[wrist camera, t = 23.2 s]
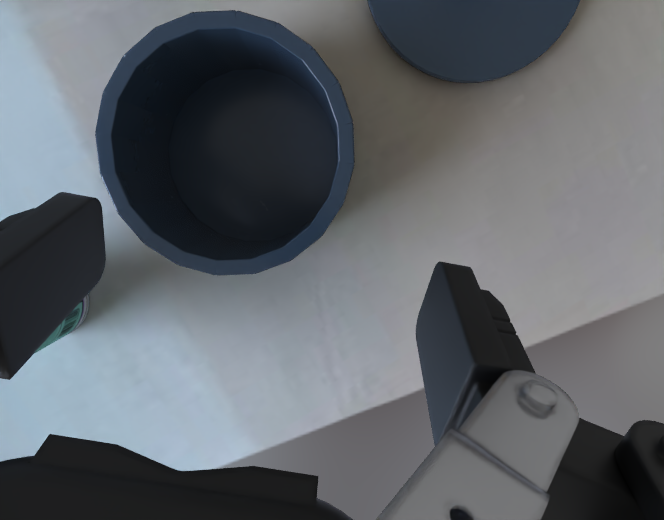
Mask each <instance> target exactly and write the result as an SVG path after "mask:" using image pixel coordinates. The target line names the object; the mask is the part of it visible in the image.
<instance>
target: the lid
mask: <svg viewBox="0 0 664 520" xmlns="http://www.w3.org/2000/svg"><path fill="white" fill-rule="evenodd" d="M367 1H368V4H369V8H370V11H371V13H372V16H373V18H374V21H375V23H376V25H377V26H378V28H379V30H380V32H381V33H382V35H383V37H384V38H385V39H386V41H387V42H388V43H389V45H390V46H391V47H392V48H393V49H394V50H395V51H396V52H397V53H398V54H399V55H400V56H401V57H402V58H403V59H404V60H406V61H407V62H408V63H409V64H411V65H412V66H414V67H415V68H417V69H419V70H421V71H422V72H424V73H426V74H429V75H431V76H434V77H436V78H439V79H443V80H447V81H452V82H461V83H477V82H484V81H490V80H494V79H498V78H501V77H504V76H507V75H509V74H511V73H514V72H516V71H518V70H520V69H521V68H523V67H525V66H526V65H528V64H530V63H531V62H533V61H534V60H536V59H537V58H538V57H539V56H541V55H542V54H543V53H544V52H545V51H547V50H548V49H549V48H550V47H551V45H552V44H553V43H554V42H555V41H556V40H557V39H558V38H559V36H560V35H561V34H562V32H563V31H564V30H565V29H566V27H567V25H568V24H569V22H570V20H571V19H572V17H573V15H574V13H575V11H576V9H577V6H578V4H579V2H580V0H367Z"/></svg>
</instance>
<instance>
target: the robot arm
mask: <svg viewBox="0 0 664 520" xmlns="http://www.w3.org/2000/svg"><path fill="white" fill-rule="evenodd" d="M105 262H106V254H105V241H104V228H103V215H102V207H101V204H100V202H99V200H98V199H96V198H92V197H87V196H81V195H76V194H71V193H65V192H61V193H58V194H57V195H55V196H54V197H52V198H51V199H49V200H47V201H46V202H44V203H43V204H41V205H40V206H38V207H37V208H33V209H30V210H27V211H24V212H21V213H17V214H14V215H11V216H9V217H7V218H6V219H4V220H2V221H1V222H0V378H2V379H8V380H10V379H11V378H12V377H13V376H14V375H15V374H16V372H17V371H18V370H19V369H20V368H21V367H22V366H23V365H24V364H25V363H26V361H27V360H28V359H29V358H30V357H31V356H32V355H33V354H34V353H35V352H36V350H37V349H38V348H39V347H40V346H41V345H42V344H43V343H44V342H45V341H46V339H47V338H48V337H49V336H50V335H51V334H52V333H53V332H54V331H55V329H56V328H57V327H58V326H59V325H60V324H61V323H62V322H63V321H64V320H65V318H66V317H67V316H68V315H69V314H70V313H71V312H72V311H73V310H74V309H75V307H76V306H77V305H78V304H79V303H80V302H81V301H82V300H83V299H84V298H85V296H86V295H87V294H88V293H89V292H90V291H91V290H92V289H93V288H94V287H95V285H96V284H97V283H98V282H99V280H100V279H101V277H102V274H103V272H104V268H105ZM416 341H417V347H418V352H419V358H420V364H421V370H422V375H423V381H424V387H425V393H426V398H427V404H428V410H429V415H430V421H431V427H432V433H433V438H434V444H435V447H434V449H433V450H432V451H431V452H430V454H429V455H428V456H427V457H426V459H425V460H424V461H423V462H422V464H421V465H420V466H419V467H418V468H417V470H416V471H415V472H414V473H413V475H412V476H411V477H410V478H409V479H408V481H407V482H406V483H405V485H404V486H403V487H402V488H401V489H400V490H399V492H398V493H397V494H396V495H395V497H394V498H393V499H392V500H391V502H390V503H389V504H388V505H387V506H386V508H385V509H384V510H383V511H382V513H381V514H380V515H379V516H378V517H377V519H376V520H664V424H663V423H659V422H656V421H648V420H643V421H638V422H636V423H634V424H633V425H632V427H631V428H630V429H629V431H628V432H627V433H626V435H625V436H622V435H620V434H617V433H615V432H612V431H610V430H607V429H605V428H602V427H600V426H597V425H595V424H593V423H590V422H588V421H585V420H583V419H581V418H579V413H578V410H577V407H576V405H575V404H574V402H573V401H572V399H571V398H570V397H569V396H568V394H566V392H564V391H563V390H562V389H561V388H560V387H559V386H557V385H556V384H554V383H553V382H551V381H550V380H548V379H546V378H544V377H542V376H540V375H537V374H536V373H535V371H534V369H533V367H532V365H531V362H530V361H529V358H528V356H527V354H526V352H525V350H524V348H523V346H522V344H521V341H520V339H519V337H518V335H516V331H515V329H514V327H513V325H512V323H510V318H509V316H508V314H507V312H506V310H505V308H504V306H503V304H502V303H501V302H499V301H498V300H497V299H496V298H495V297H494V296H493V295H492V294H491V293H490V292H489V291H487V290H481V289H480V287H479V285H478V283H477V280H476V278H475V275H474V273H473V271H472V269H471V268H470V267H467V266H462V265H456V264H451V263H445V262H438V263H437V264H436V266H435V268H434V271H433V274H432V276H431V279H430V282H429V285H428V288H427V291H426V294H425V297H424V300H423V303H422V306H421V309H420V312H419V315H418V319H417V325H416ZM317 486H318V476H314V475H307V474H301V473H294V472H288V471H281V470H275V469H268V468H263V467H256V466H249V467H237V468H223V469H210V470H197V471H178V470H175V469H172V468H170V467H167V466H165V465H163V464H161V463H158V462H156V461H154V460H151V459H149V458H147V457H144V456H142V455H140V454H137V453H135V452H133V451H131V450H128V449H126V448H124V447H121V446H119V445H116V444H110V443H103V442H97V441H91V440H84V439H78V438H71V437H65V436H59V435H52V434H49V436H48V437H47V439H46V440H45V441H44V443H43V444H42V446H41V447H40V449H39V450H38V451H37V453H36V454H35V456H28V457H22V458H16V459H10V460H6V461H2V462H0V520H353V519H351V518H350V517H349V516H347V515H346V514H345V513H343V512H342V511H341V510H339V509H337V508H335V507H334V506H332V505H330V504H329V503H327V502H325V501H322V500H320V499H318V498H317Z"/></svg>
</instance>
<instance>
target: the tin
mask: <svg viewBox="0 0 664 520" xmlns="http://www.w3.org/2000/svg"><path fill="white" fill-rule="evenodd" d="M95 133H96V134H95V136H96V144H97V152H98V161H99V169H100V174H101V177H102V179H103V182H104V184H105V186H106V188H107V191H108V193H109V195H110V197H111V200H112V202H113V204H114V206H115V209H116V211H117V212H118V214H119V215H120V216H121V218H122V219H123V220H124V221H125V222H126V223H127V225H128V226H129V227H130V228H131V229H132V230H133V231H134V233H135V234H136V235H137V236H138V237H139V238H140V240H141V241H142V242H143V243H144V244H145V245H147V246H148V247H150V248H152V249H153V250H155V251H156V252H158V253H159V254H161V255H163V256H164V257H166V258H167V259H169V260H170V261H172V262H174V263H175V264H177V265H179V266H183V267H187V268H190V269H194V270H198V271H201V272H205V273H209V274H212V275H241V274H254V273H255V274H256V273H259V272H262V271H264V270H267V269H270V268H273V267H275V266H278V265H281V264H284V263H286V262H289V261H291V260H293V259H294V258H295V257H296V256H298V255H299V254H300V253H301V252H303V251H304V250H305V249H307V248H308V247H309V246H310V245H312V244H313V243H314V242H315V241H317V240H318V239H319V238H320V237H321V236H322V235H323V234H324V232H325V231H326V229H327V228H328V226H329V225H330V223H331V222H332V220H333V219H334V217H335V216H336V214H337V213H338V211H339V210H340V208H341V207H342V205H343V203H344V201H345V197H346V194H347V190H348V186H349V183H350V179H351V176H352V172H353V169H354V163H355V157H354V126H353V120H352V117H351V114H350V111H349V108H348V106H347V103H346V100H345V97H344V94H343V91H342V88H341V86H340V83H339V82H338V80H337V78H336V77H335V76H334V74H333V73H332V72H331V70H330V69H329V68H328V66H327V65H326V64H325V62H324V61H323V60H322V58H321V57H320V56H319V54H318V53H317V52H316V50H315V49H314V48H313V47H312V46H311V45H309V44H308V43H306V42H305V41H304V40H302V39H301V38H299V37H298V36H297V35H295V34H294V33H292V32H291V31H289V30H288V29H287V28H285V27H284V26H282V25H281V24H279V23H277V22H274V21H271V20H268V19H264V18H261V17H258V16H254V15H251V14H248V13H244V12H241V11H237V12H236V11H235V10H229V11H206V12H195V13H194V12H192V13H190V14H187V15H185V16H182V17H180V18H177V19H175V20H172V21H170V22H167V23H165V24H162V25H160V26H158V27H155V28H154V29H153V30H152V31H150V32H149V33H148V34H147V35H146V36H145V37H144V38H143V39H141V40H140V41H139V42H138V43H137V44H136V45H135V46H134V47H132V48H131V49H130V50H129V51H128V52H127V53H126V54H125V55H124V56H123V57H122V59H121V61H120V62H119V64H118V66H117V68H116V70H115V71H114V73H113V75H112V77H111V79H110V80H109V82H108V84H107V86H106V87H105V89H104V91H103V95H102V100H101V105H100V110H99V116H98V121H97V126H96V131H95Z"/></svg>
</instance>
